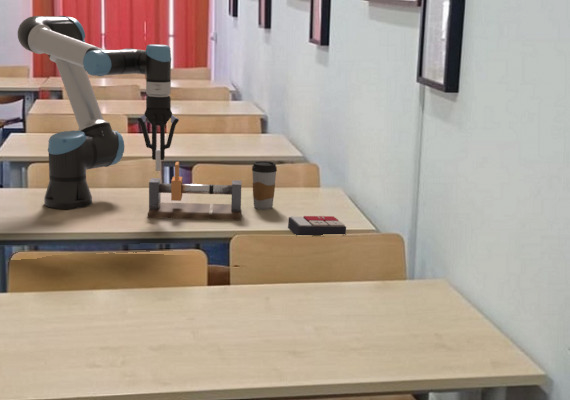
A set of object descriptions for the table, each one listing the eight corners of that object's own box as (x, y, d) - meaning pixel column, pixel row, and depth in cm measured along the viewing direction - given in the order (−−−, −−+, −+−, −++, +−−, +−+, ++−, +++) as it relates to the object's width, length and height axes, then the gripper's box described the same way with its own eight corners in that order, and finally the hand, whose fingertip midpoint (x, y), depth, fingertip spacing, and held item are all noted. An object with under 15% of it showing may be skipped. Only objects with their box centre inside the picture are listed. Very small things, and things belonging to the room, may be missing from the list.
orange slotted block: (171, 200, 258) (171, 165, 256) (172, 195, 265) (173, 161, 262) (180, 200, 259) (181, 165, 256) (182, 196, 265) (182, 161, 262)
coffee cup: (279, 206, 276) (281, 162, 272) (268, 211, 269) (270, 166, 265) (257, 203, 279) (259, 160, 276) (246, 208, 272) (247, 163, 268)
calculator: (347, 224, 244) (299, 224, 240) (345, 238, 245) (297, 238, 241) (334, 215, 254) (288, 214, 250) (333, 228, 255) (287, 228, 251)
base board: (147, 217, 256) (147, 212, 255) (152, 206, 269) (152, 202, 269) (240, 220, 257) (240, 215, 257) (240, 208, 271) (240, 204, 270)
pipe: (149, 209, 259) (149, 182, 257) (151, 205, 265) (151, 178, 263) (240, 212, 261) (241, 184, 259) (240, 207, 266) (241, 180, 264)
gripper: (135, 96, 250) (136, 171, 255) (178, 97, 250) (178, 172, 256) (138, 93, 257) (139, 166, 262) (180, 94, 258) (180, 168, 263)
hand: (158, 169), depth 259 cm, fingers closed
